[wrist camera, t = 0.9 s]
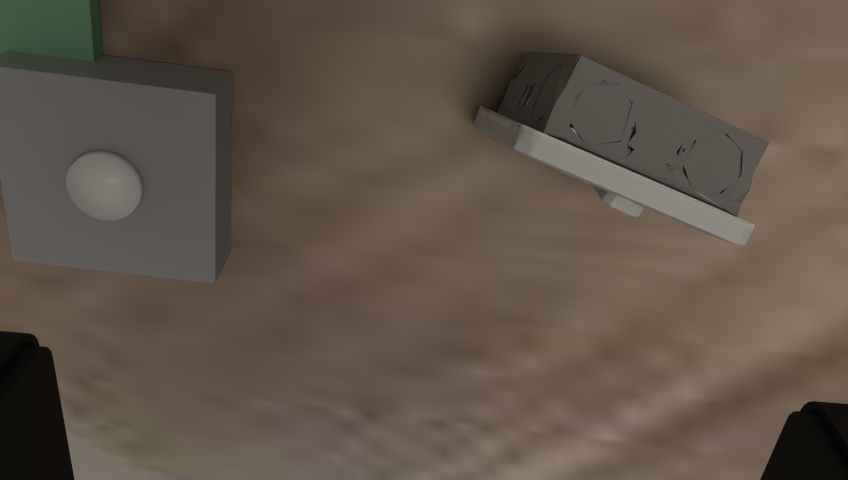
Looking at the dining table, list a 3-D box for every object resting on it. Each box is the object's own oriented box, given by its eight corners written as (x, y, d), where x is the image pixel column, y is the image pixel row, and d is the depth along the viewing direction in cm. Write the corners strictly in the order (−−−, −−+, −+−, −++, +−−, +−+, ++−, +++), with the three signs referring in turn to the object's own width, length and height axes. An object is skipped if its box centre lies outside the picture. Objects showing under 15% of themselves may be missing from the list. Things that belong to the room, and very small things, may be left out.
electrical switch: (468, 120, 35) (492, 195, 26) (520, 10, 33) (564, 52, 24) (649, 197, 37) (725, 291, 28) (708, 97, 35) (809, 165, 26)
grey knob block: (19, 44, 33) (-24, 69, 30) (232, 71, 34) (211, 99, 31) (41, 228, 38) (5, 267, 34) (230, 250, 38) (212, 291, 35)
